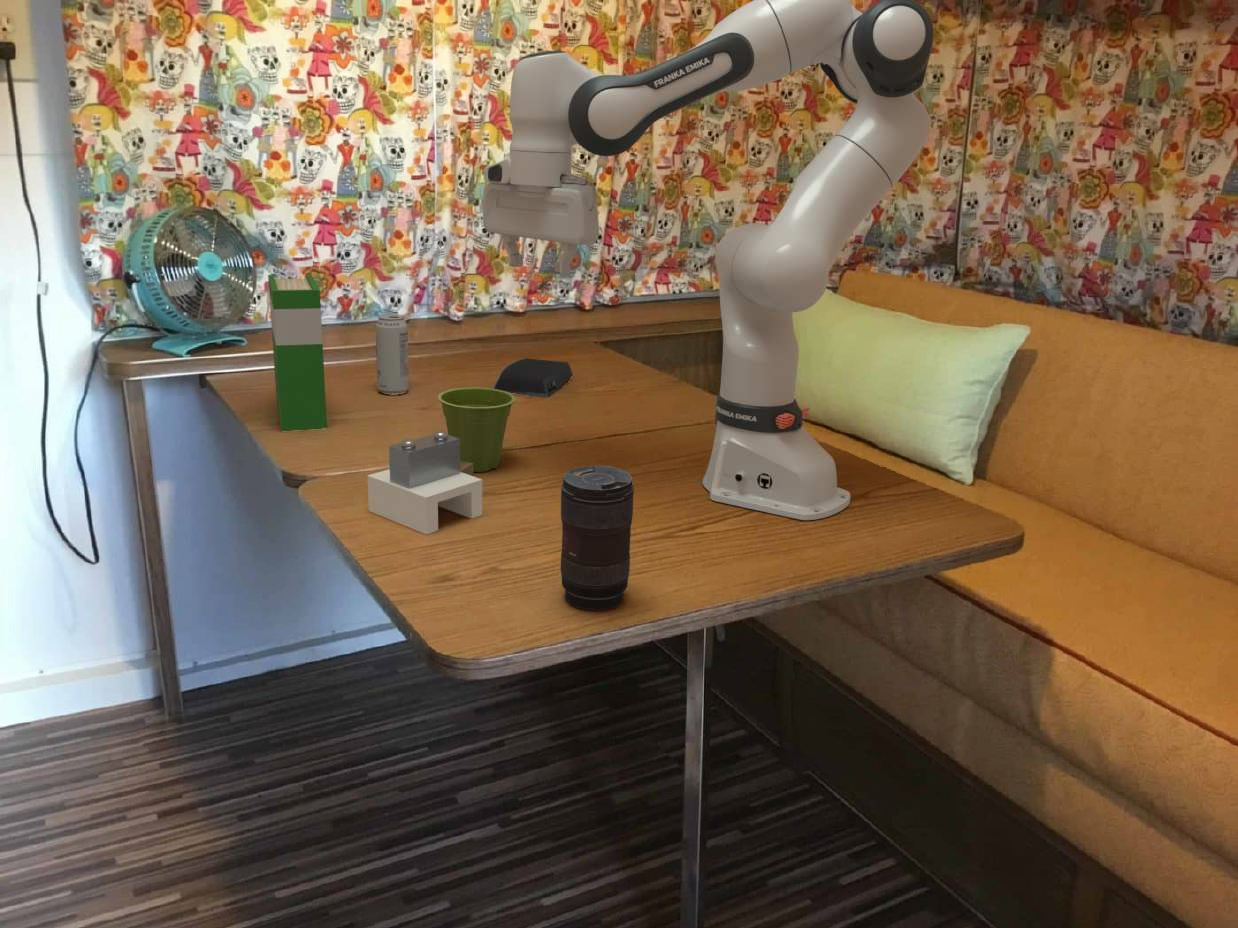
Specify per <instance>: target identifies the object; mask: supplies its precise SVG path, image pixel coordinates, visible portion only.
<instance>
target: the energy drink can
mask: <svg viewBox="0 0 1238 928" xmlns="http://www.w3.org/2000/svg"><path fill="white" fill-rule="evenodd" d="M405 320H406V319H405V315H403V314H397V313H396V314H394V313H391V314H380V315H378V320H377V322H376V323H375V346H376V347H375V350H376V375H377V376H376V377H377V378H376V379H377V383H376V384H377V389H378V390H380V393H381V392H384V393H391V394H392V393H394V394H395V393H402V392H405V391H406V392H407V390H408V389H410V380H409V378H410V377H409V372H410V371H409V341H408V340H409V337H408V334H409V333H408V332H409V331H408V323H407V322H406V321H405Z"/></svg>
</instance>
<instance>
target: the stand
mask: <svg viewBox="0 0 1238 928" xmlns="http://www.w3.org/2000/svg"><path fill="white" fill-rule="evenodd" d="M367 492H368V493H367V496H368V511H369V512H371V513H373V514H376V515H378V516H380V517H382V518H385V519H388V520H390V521H392V522H395V523H397V524H400V525H401V526H404V527H406V528H410V529H412V530H414V531H417V532H419V533H421V534H424V535H430V534H433V533H435V532H438V531H439V507H440V508H442V509H444V510H448V511H450V512H453V513H456V514H458V515H460V516H463V517H466V518H469V519H476V518H479V517H481V516H483V479H482V478H478V477H476V476H474V477H473V476H471V475H468V474H465V473H462V472H460V474H457V475H453V476H450V477H447V478H443V479H440V480H437V481H434V482H430V483H427V484H424V485H420V486H417V487H414V488H411V489H409V488H406V487H403V486H401V485H398V484H395V483H393V482H390V468H389V469H386V470H381V471H377V472H375V473H372V474H368V475H367Z"/></svg>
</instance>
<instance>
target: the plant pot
mask: <svg viewBox="0 0 1238 928" xmlns="http://www.w3.org/2000/svg"><path fill="white" fill-rule="evenodd" d="M437 399H438V401H439V402H440V403H441V407H442V411H443V416H444V417H445V423H446V429H447V435H449V436H453V437H456V438H459V439H460V461H462V462H468V463H473V473H475V472H476V473H485V472H489V471H491V469H492V470H493V469H497V468H498V467H499V466H500V465H499V464H500V459H501V454H502V449H503V444H504V438H505V433H506V428H507V423H508V419H509V416H510V414H511V408H512V405H513V404H514V403H515V401H516V397H515V395H513V394H510V393H508V392H505V391H502V390H497V389H493V388H489V387H459V388H458V387H457V388H452V389H448V390H445V391H442V392H440V393H439V394H438V396H437Z"/></svg>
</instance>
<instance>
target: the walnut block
mask: <svg viewBox="0 0 1238 928" xmlns="http://www.w3.org/2000/svg"><path fill="white" fill-rule="evenodd" d="M460 472H462V473H465V474H468V475H471V476H473V477H475V476H474V474H475V473H474V472H473V463H468V462H462V461H460Z"/></svg>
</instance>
